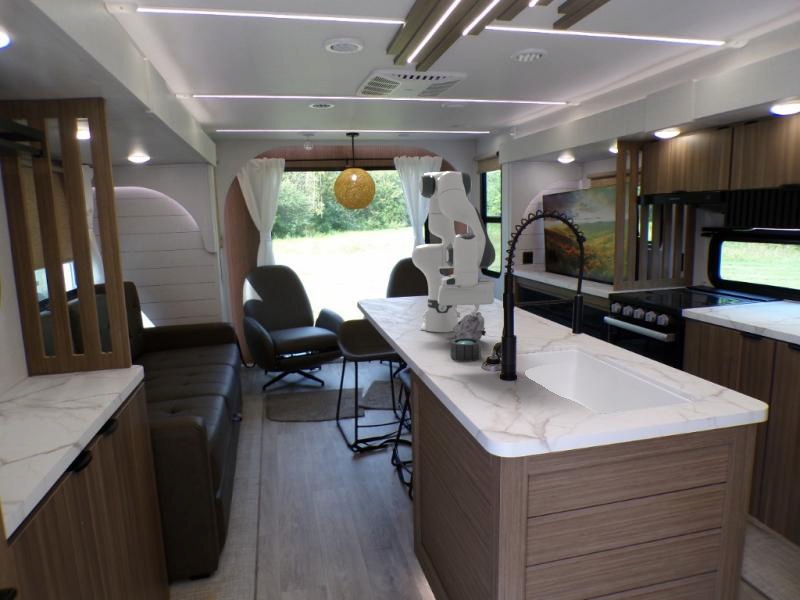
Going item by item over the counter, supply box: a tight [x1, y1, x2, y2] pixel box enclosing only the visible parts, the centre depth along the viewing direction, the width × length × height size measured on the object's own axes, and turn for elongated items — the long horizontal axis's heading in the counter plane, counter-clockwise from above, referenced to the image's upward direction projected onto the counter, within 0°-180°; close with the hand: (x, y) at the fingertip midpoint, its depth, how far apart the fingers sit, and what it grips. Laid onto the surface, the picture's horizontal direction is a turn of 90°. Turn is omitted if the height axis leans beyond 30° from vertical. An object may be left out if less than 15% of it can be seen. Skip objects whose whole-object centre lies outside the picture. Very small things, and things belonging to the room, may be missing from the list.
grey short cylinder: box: [449, 338, 482, 362], centre depth 197 cm, size 11×11×6 cm
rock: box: [452, 311, 487, 340], centre depth 220 cm, size 22×10×15 cm, turn 8°
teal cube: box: [457, 341, 474, 344], centre depth 197 cm, size 6×6×5 cm
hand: (465, 316), depth 195 cm, fingers open, 4 cm apart
